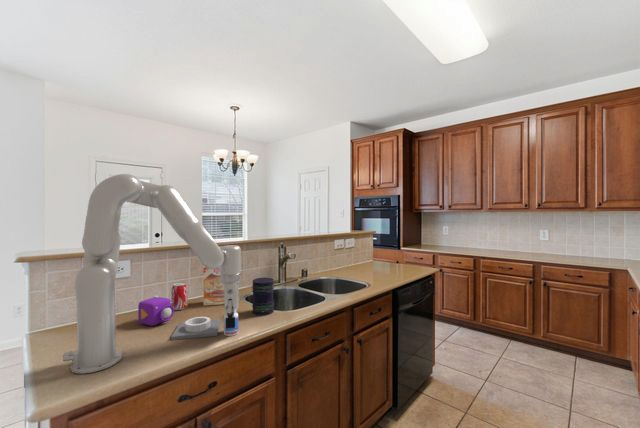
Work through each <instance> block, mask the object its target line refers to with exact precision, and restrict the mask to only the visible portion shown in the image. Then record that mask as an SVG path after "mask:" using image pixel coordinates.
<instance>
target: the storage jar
mask: <svg viewBox="0 0 640 428" xmlns="http://www.w3.org/2000/svg"><path fill="white" fill-rule="evenodd" d="M274 282H275V281H274V278H272V277H258V278H254V279H252V305H251V306H252V314H253V315H255V316H259V317H261V316H263V317H264V316H269V315H271V314H273V313H274V311H275V309H274V308H275V301H274V291H275V286H274V285H275V284H274Z"/></svg>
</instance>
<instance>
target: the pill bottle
mask: <svg viewBox="0 0 640 428" xmlns="http://www.w3.org/2000/svg"><path fill="white" fill-rule="evenodd" d="M232 309H233V307H232ZM224 310H225V309H224ZM232 312H233V310H232ZM226 316H227V310H225V313H224V314H223V334H224V336H226V337H227V336H228V337H232V336H236V335H237V334H238V333H239V313H238V312H237V309H234V317H235V328H226Z"/></svg>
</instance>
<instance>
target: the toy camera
mask: <svg viewBox="0 0 640 428" xmlns="http://www.w3.org/2000/svg"><path fill="white" fill-rule="evenodd" d="M137 309H138V310H137V311H138V313H137V314H138V317H137V318H138V323H140V324H142V325H147V326H150V327H151V326H153V327H154V326H157V325H159V324H163V323H164V322H169V320H171V319H172V317H173V316H174V313H175V310H174V308H173V306H172V303H171V299H170V298H166V297H161V296H159V295H154V296H153V297H151V298H148V299H144V300H141V301H140V302H139V303H138V307H137Z"/></svg>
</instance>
